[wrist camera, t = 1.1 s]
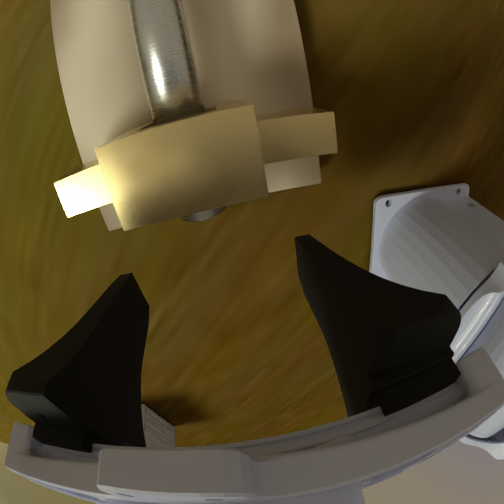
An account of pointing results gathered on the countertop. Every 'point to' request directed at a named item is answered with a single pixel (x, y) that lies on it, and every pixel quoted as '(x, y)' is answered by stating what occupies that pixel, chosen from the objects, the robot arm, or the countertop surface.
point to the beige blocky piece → (207, 65)
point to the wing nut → (194, 162)
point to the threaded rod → (167, 66)
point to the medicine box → (157, 429)
